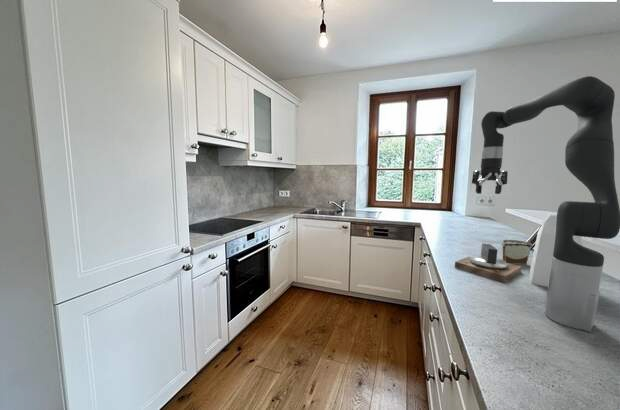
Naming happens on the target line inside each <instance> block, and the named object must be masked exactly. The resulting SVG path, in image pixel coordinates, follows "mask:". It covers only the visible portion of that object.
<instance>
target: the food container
mask: <svg viewBox="0 0 620 410" xmlns="http://www.w3.org/2000/svg"><path fill="white" fill-rule="evenodd" d="M500 246H502V260H504V261H505V262H507V263H509V264H513V265H527V264H528V261H529V257H530V253H531V249H532V248H533V244H532V243H531V242H528V241H524V240H516V239H503V240H502V241H501V244H500Z"/></svg>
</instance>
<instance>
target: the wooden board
mask: <svg viewBox="0 0 620 410" xmlns="http://www.w3.org/2000/svg"><path fill="white" fill-rule="evenodd" d="M472 255H473V254H472ZM472 255H469V256H466V257H464V258H461V259H459V260H457V261H455V262H454V268H456V269H459V270H462V271H463V270H464V271H465V272H466V271H467V272H469V273H472V274H475V275H476V274H477V275H478V276H483V277H484V278H485V277H486V278H489V279H493V280H497V281H498V282H502V283H506V282H508V281H509V280H511V279H513V278H514V277H516V276H517V275H519V274H520V273H521V272H522V266H521V265H518V264H509V263H507V268H506V269H491V268H486V267H481V266H478V265H475V264H473V263H471V262H470V256H472Z"/></svg>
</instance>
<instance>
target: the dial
mask: <svg viewBox="0 0 620 410" xmlns="http://www.w3.org/2000/svg"><path fill="white" fill-rule="evenodd" d="M469 256H470V262H471V263H473V264H475V265H478V266H481V267H486V268H491V269H506V268H507V262H505V261H504V260H503V259H501V258H498V249H497V248H496V247H494V246H493V245H492V244H491V243H482V242H481V251H480V254H472V256H471V255H469Z"/></svg>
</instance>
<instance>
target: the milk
mask: <svg viewBox="0 0 620 410" xmlns="http://www.w3.org/2000/svg"><path fill="white" fill-rule="evenodd" d="M556 220H557V214H552V213H551V214H549V215H548V216H547V217H546V219H545V220H544V221H543V223H542V224H541V226H540V228H539V229H538V231H537V235H536V240H535V245H534V250H533V255H532V260H531V263H530V264H531V265H530V268H529V269H530V270H529V275H528V276H529V279H530V282H531V283H530V284H531V285H532V284H533V285H538V286H542V287H545V288H546V287H547V288H548V286H549V279H550V272H551V265H552V258H553V252H554V244H555V236H556ZM573 240H574V241H575V242H576V243H578V244H579V245H581V246H583V238H582V236H573Z"/></svg>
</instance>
